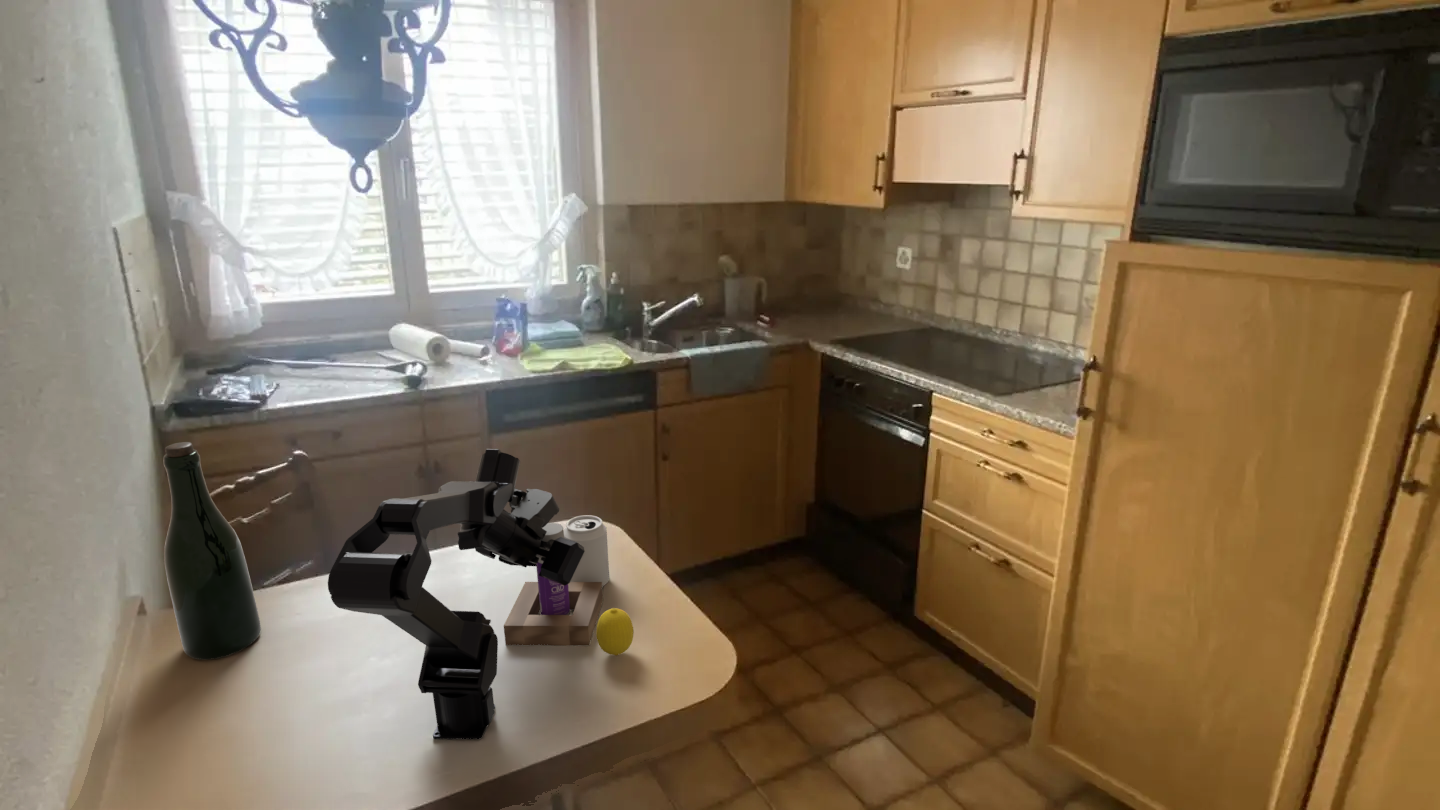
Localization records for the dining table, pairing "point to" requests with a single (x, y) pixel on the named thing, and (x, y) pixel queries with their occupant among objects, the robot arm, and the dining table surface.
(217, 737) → the dining table surface
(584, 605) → the frame
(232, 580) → the beer bottle
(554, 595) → the container
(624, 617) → the lemon
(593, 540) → the can
